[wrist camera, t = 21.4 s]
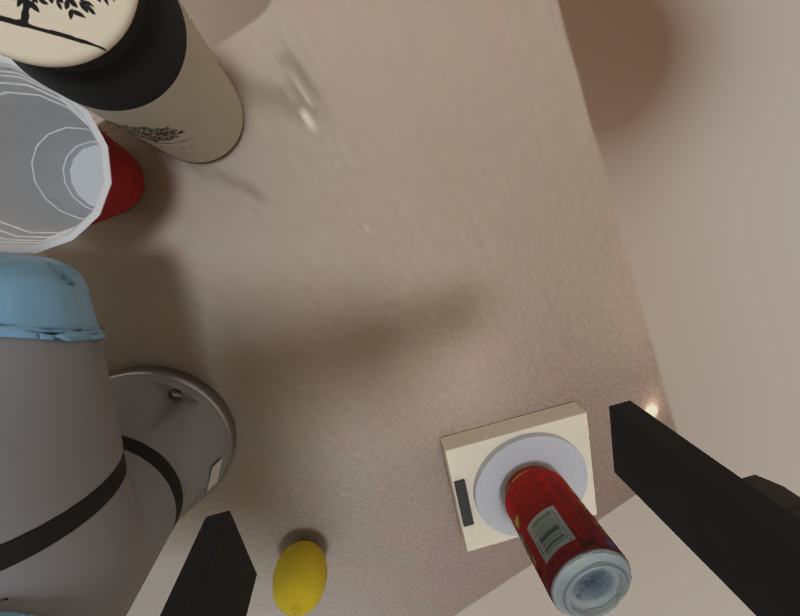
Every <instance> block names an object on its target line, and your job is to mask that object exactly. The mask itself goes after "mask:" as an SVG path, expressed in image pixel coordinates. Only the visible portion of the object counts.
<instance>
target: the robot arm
mask: <svg viewBox="0 0 800 616" xmlns="http://www.w3.org/2000/svg"><path fill="white" fill-rule="evenodd" d="M103 338H105V333H104V330H103V329H102V328H101V327H99V324H98V321H97V317H96V314H95V310H94V307H93V303H92V300H91V296H90V292H89V288H88V285H87V283H86V281H85V279H84V277H83V276H82V275H81V274H80V273H79V272H78V271H77V270H76V269H75V268H73V267H72V266H70V265H68V264H66V263H64V262H62V261H59V260H56V259H52V258H47V257H41V256H32V255H20V254H6V253H0V616H126V615H127V613H128V611H129V609H130V607H131V606H132V604H133V602H134V600H135V598H136V596H137V594H138V593H139V591H140V589H141V587H142V585H143V583H144V582H145V580H146V578H147V576H148V574H149V572H150V570H151V569H152V567H153V565H154V563H155V561H156V559H157V558H158V556H159V554H160V552H161V550H162V548H163V546H164V545H165V543H166V541H167V539H168V537H169V535H170V534H171V532H172V530H173V528H174V526H175V524H176V523H177V521H178V520H179V519H180V518H181V517H182V516H184V515H185V514H186V513H187V512H188V511H189V510H190V509H191V508H193V507H194V506H195V505H196V504H197V503H198V502H199V501H200V500H202V499H203V498H204V497H205V496H206V495H207V494H208V493H209V492H210V491H211V490H212V489H213V488H215V486H216V485H217V484H218V483H219V482H220V480H221V479H222V477H223V475H224V474H225V472H226V470H227V467H228V465H229V463H230V461H231V459H232V456H233V453H234V449H235V440H236V435H235V427H234V423H233V420H232V417H231V415H230V412H229V410H228V409H227V407H226V405H225V404H224V402H223V401H222V400H221V398H220V397H219V396H218V395H217V394H216V393H215V392H214V391H213V390H212V389H211V388H209V387H208V386H207V385H206V384H204V383H203V382H201V381H199V380H198V379H196V378H194V377H192V376H190V375H188V374H185V373H183V372H180V371H177V370H173V369H169V368H163V367H153V366H142V367H133V368H128V369H124V370H121V371H117V372H115V373H112V374H110V375H109V372H108V367H107V361H106V356H105V350H104V345H103V340H102V339H103ZM609 410H610V423H611V435H612V448H613V460H614V472H615V473H616V474H617V475H618V476H619V477H620V478H621V479H622V480H623V481H624V482H625V483H626V484H627V485H628V486H629V487H630V488H631V489H632V490H633V491H634V492H635V493H636V494H637V495H638V496H639V497H640V498H641V499H642V500H643V501H644V502H645V503H646V505H648V507H649V508H651V509H652V511H653V512H655V514H656V515H657V516H658V517H659V518H660V519H661V520H662V521H664V523H665V524H666V525H667V526H669V528H670V529H671V530H672V531H673V532H674V533H675V534H676V535H677V536H678V537H679V538H680V539H681V540H682V541H683V542H684V543H685V544H686V545H687V546H688V547H689V548H690V549H691V550H692V551H693V552H694V553H695V554H696V555H697V556H698V557H699V558H700V559H701V560H702V561H703V562H704V563H705V564H706V565H707V566H708V567H709V568H710V569H711V570H712V571H713V572H714V573H715V574H716V575H717V576H718V577H719V578H720V579H721V580H722V581H723V582H724V583H725V584H726V585H727V586H728V587H729V588H730V589H731V590H732V591H733V592H734V593H735V594H736V595H737V596H738V598H739V599H740V600H742V601H743V603H744V604H745V605H746V606H747V607H748V608H749V609H750V610H751V611H752V612H753V613H754V614H755V615H756V616H800V497H799V496H797V495H796V494H794V493H792V492H791V491H789V490H787V489H786V488H785V487H783V486H781V485H779V484H776V483H774V482H772V481H769V480H767V479H764V478H762V477H759V476H757V475H753V476H749V477H745V478H742V479H741V478H740V477H738V476H737V475H736V474H734V473H733V472H731V471H730V470H729V469H727V468H726V467H724V466H723V465H721V464H720V463H718V462H717V461H716V460H714V459H713V458H711V457H710V456H709V455H707V454H706V453H704V452H702V451H701V450H700V449H698V448H697V447H695V446H694V445H693V444H691V443H690V442H688V441H687V440H686V439H684V438H683V437H681V436H680V435H678V434H677V433H676V432H674V431H673V430H671V429H670V428H668V427H667V426H666V425H664V424H663V423H661V422H660V421H658V420H657V419H656V418H654V417H653V416H651V415H650V414H648V413H647V412H646V411H644V410H643V409H641V408H640V407H638V406H637V405H636V404H634V403H633V402H631V401H627V402H623V403H619V404H616V405H612V406H609ZM256 575H257V574H256V571H255V569H254V567H253V564H252V562H251V560H250V557H249V555H248V553H247V550H246V548H245V545H244V543H243V541H242V538H241V536H240V534H239V531H238V529H237V527H236V524H235V522H234V520H233V517H232V515H231V513H230V511H226V512H223V513H219V514H215V515H212V516H208V517H206V518H205V520H204V522H203V525H202V527H201V529H200V531H199V533H198V535H197V538H196V540H195V542H194V544H193V546H192V548H191V551H190V553H189V555H188V557H187V559H186V561H185V563H184V566H183V568H182V570H181V572H180V574H179V576H178V579H177V581H176V583H175V585H174V587H173V589H172V591H171V594H170V596H169V598H168V600H167V602H166V604H165V607H164V609H163V611H162V613H161V615H160V616H246V615H247V611H248V607H249V603H250V599H251V595H252V591H253V587H254V583H255V579H256Z"/></svg>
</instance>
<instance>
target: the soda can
mask: <svg viewBox="0 0 800 616" xmlns="http://www.w3.org/2000/svg"><path fill="white" fill-rule="evenodd" d="M505 495H506V496H505V507H506V511H507V514H508V516H509V518H510V520H511V521H512V523H513V525H514V527H515V529H516V531H517V533H518V535H519V537H520V539H521V541H522V543H523V545H524V547H525V549H526V551H527V553H528V555H529V557H530V559H531V561H532V563H533V565H534V566H535V569H536V571H537V573H538V575H539V577H540V578H541V580H542V582H543V584H544V586H545V588H546V590H547V592H548V594H549V596H550V598H551V600H552V602H553V603H554V605H555V606H556V607H557V609H559V610H560V611H561V612H562V613H564V614H567V615H569V616H602V615H604V614H606V613H608V612H610V611H611V610H612V609H614V608H615V607H616V606H617V605H618V603H619V602H620V601H621V600H622V598H623V597H624V596H625V594H626V592H627V591H628V589H629V586H630V583H631V578H632V577H631V569H630V565H629V563H628V561H627V559H626V558H625V556H624V555H623V553H622V552H621V551H620V550H619V549H618V547H617V546H616V545H615V544H614V542H613V541H612V540H611V538H610V537H609V536H608V535H607V534H606V532H605V531H604V529H603V528H602V527H601V526H600V524H599V523H598V522H597V521H596V519H595V518H594V517H593V515H592V514H591V513H590V512H589V510H588V509H587V508H586V506H585V505H584V504H583V503H582V501H581V500H580V499H579V497H578V496H577V495H576V494H575V492H574V491H573V490H572V488H571V487H570V486H569V485H568V483H567V482H566V481H565V479H564V478H563V477H562V476H560V475H559V474H558V473H556V472H554V471H551V470H549V469H548V468H546V467H544V466H542V465H537V464H532V465H527V466H523V467H521V468H519V469H518V470H516V471H515V472H514V473H513V474H512V475H511V476H510V477H509V479H508V480H507V483H506V486H505Z"/></svg>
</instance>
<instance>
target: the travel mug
mask: <svg viewBox="0 0 800 616" xmlns="http://www.w3.org/2000/svg"><path fill="white" fill-rule="evenodd" d="M0 54H1V55H3V56H6V57H8V58H10V59H12V60H13V61H14V62H15V63H16V65H17V66H19V67H20V68H21V69H22V70H23V71H24V72H25V73H26V74H28V75H29V76H30V77H32V78H33V79H34V80H36V81H37V82H39V83H41V84H42V85H44V86H46V87H48V88H49V89H51V90H53V91H55V92H57V93H59V94H60V95H62V96H64V97H66V98H68V99H69V100H71V101H73V102H75V103H77V104H78V105H80V106H82V107H84V108H86V109H87V110H89V111H91V112H93V113H95V114H97V115H98V116H100V117H102V118H104V119H106V120H107V121H109V122H111V123H113V124H115V125H116V126H118V127H120V128H122V129H124V130H126V131H127V132H129V133H131V134H133V135H135V136H136V137H138V138H140V139H142V140H144V141H145V142H147V143H149V144H151V145H153V146H155V147H156V148H158V149H160V150H162V151H164V152H165V153H167V154H169V155H171V156H173V157H175V158H177V159H180V160H183V161H187V162H196V163H200V162H208V161H212V160H215V159H217V158H219V157H221V156H223V155H224V154H226V153H227V152H228V151H229V150H230V149H231V148H232V147H233V146H234V145H235V143H236V142H237V140H238V138H239V136H240V133H241V130H242V125H243V110H242V105H241V101H240V98H239V96H238V94H237V92H236V90H235V88H234V87H233V85H232V83H231V82H230V80H229V79H228V77H227V75H226V74H225V72H224V71H223V69H222V68H221V66H220V64H219V63H218V61H217V60H216V58H215V56H214V55H213V53H212V52H211V50H210V49H209V47H208V45H207V44H206V42H205V41H204V39H203V38H202V36H201V34H200V33H199V31H198V30H197V28H196V26H195V25H194V24H193V22H192V20H191V19H190V17H189V16H188V14H187V12H186V11H185V9H184V7H183V6H182V4H181V3H180V1H179V0H0Z"/></svg>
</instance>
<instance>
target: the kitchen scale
mask: <svg viewBox="0 0 800 616" xmlns="http://www.w3.org/2000/svg"><path fill="white" fill-rule="evenodd" d="M440 441H441V445H442V450H443V454H444V458H445V463H446V467H447V472H448V476H449V481H450V485H451V490H452V494H453V499H454V503H455V508H456V512H457V516H458V521H459V525H460V530H461V534H462V537H463V540H464V543H465V546H466V549H467V552H469V551H472V550H476V549H479V548H483V547H486V546H490V545H493V544H496V543H500V542H503V541H507V540H510V539H514V538H517V537H519V535H518V533H517V531H516V529H515V527H514V525H513V523H512V521H511V520H510V518H509V516H508V514H507V511H506V507H505V496H506V495H505V486H506V483H507V480H508V479H509V477H510V476H511V475H512V474H513V473H514V472H515V471H516V470H518V469H519V468H521V467H523V466H527V465H532V464H537V465H542V466H544V467H546V468H548V469H549V470H551V471H554V472H556V473H558V474H559V475H560V476H562V477H563V478H564V479H565V481H566V482H567V483H568V485H569V486H570V487H571V488H572V490H573V491H574V492H575V494H576V495H577V496H578V497H579V499H580V500H581V501H582V503H583V504H584V505H585V506H586V508H587V509H588V510H589V512H590V513H591V514H592V515H596V514H597V511H596V501H595V491H594V481H593V471H592V461H591V451H590V441H589V431H588V421H587V412H586V411H584V410H583V409H582V408H581V407H580V406H579V405H578V404H576V403H575V402H571V403H567V404H563V405H559V406H556V407H552V408H548V409H545V410H541V411H537V412H534V413H530V414H526V415H523V416H519V417H515V418H512V419H508V420H504V421H501V422H497V423H493V424H490V425H486V426H482V427H479V428H475V429H471V430H468V431H464V432H460V433H457V434H453V435H449V436H446V437H442V438H440Z"/></svg>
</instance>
